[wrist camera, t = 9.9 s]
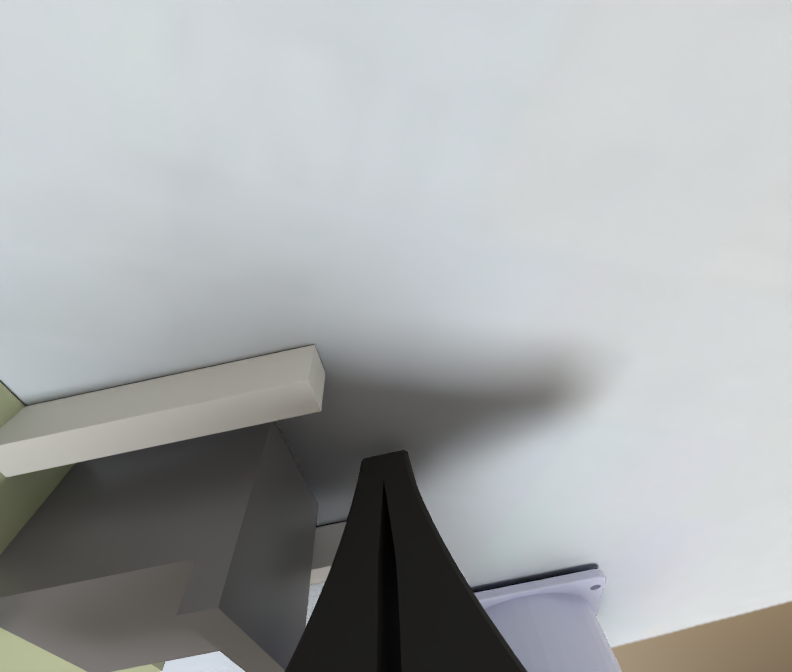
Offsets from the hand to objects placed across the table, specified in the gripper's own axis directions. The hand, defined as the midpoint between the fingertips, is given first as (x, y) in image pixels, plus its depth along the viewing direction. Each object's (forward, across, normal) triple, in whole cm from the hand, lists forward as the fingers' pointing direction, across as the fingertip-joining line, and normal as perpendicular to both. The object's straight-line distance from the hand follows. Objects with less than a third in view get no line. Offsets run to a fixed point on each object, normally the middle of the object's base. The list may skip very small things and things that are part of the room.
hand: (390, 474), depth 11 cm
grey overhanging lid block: (+1, +6, 0) cm, 6 cm away
